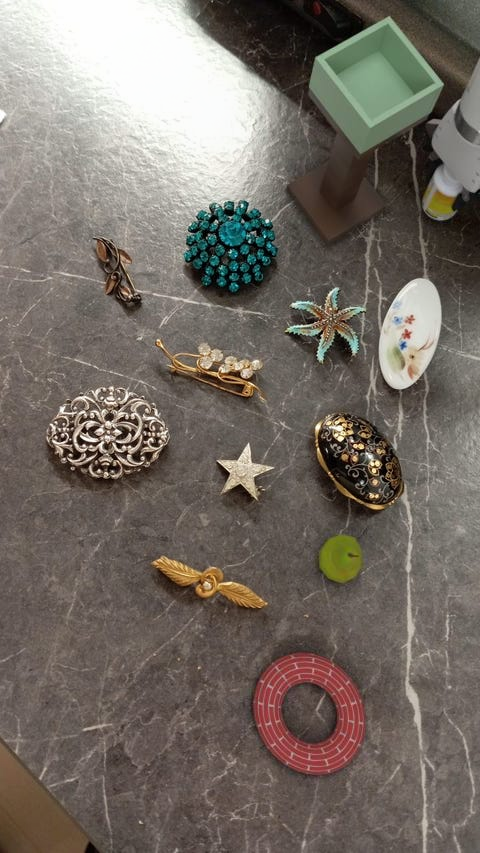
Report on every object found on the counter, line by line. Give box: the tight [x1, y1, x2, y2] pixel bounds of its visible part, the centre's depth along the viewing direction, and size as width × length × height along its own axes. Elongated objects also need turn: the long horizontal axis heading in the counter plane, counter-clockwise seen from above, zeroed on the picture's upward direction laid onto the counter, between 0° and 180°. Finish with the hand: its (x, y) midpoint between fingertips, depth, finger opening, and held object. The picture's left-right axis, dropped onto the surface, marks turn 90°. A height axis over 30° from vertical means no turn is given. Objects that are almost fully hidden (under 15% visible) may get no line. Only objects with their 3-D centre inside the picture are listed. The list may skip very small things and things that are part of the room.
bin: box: [308, 16, 445, 154], centre depth 111 cm, size 11×11×6 cm
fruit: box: [318, 533, 364, 584], centre depth 119 cm, size 6×6×12 cm
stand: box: [285, 88, 430, 246], centre depth 126 cm, size 11×11×26 cm
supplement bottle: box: [421, 163, 463, 221], centre depth 133 cm, size 6×6×10 cm
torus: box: [252, 652, 367, 776], centre depth 118 cm, size 16×14×4 cm
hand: (447, 188), depth 133 cm, fingers closed on supplement bottle, 5 cm apart
